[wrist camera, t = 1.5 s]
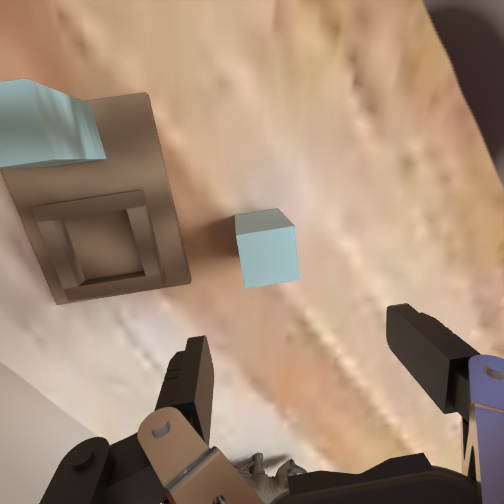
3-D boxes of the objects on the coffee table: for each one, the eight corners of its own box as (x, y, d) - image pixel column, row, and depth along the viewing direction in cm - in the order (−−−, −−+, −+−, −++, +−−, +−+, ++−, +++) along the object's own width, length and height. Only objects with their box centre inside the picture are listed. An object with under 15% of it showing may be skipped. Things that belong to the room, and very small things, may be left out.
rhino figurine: (304, 463, 41) (315, 512, 35) (210, 479, 41) (206, 531, 35) (301, 443, 40) (313, 490, 34) (204, 459, 39) (200, 510, 34)
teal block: (234, 215, 29) (235, 235, 21) (278, 208, 29) (294, 226, 21) (241, 256, 30) (244, 288, 23) (282, 249, 30) (300, 280, 23)
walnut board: (-12, 118, 25) (-140, 96, 16) (148, 94, 25) (105, 61, 16) (62, 300, 30) (-4, 355, 22) (191, 279, 31) (176, 326, 22)
